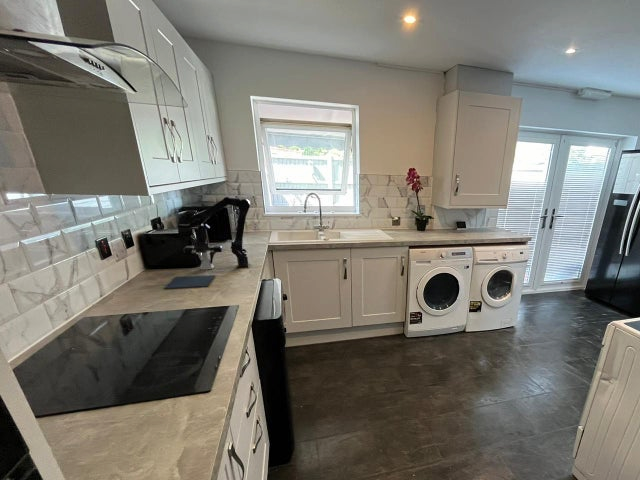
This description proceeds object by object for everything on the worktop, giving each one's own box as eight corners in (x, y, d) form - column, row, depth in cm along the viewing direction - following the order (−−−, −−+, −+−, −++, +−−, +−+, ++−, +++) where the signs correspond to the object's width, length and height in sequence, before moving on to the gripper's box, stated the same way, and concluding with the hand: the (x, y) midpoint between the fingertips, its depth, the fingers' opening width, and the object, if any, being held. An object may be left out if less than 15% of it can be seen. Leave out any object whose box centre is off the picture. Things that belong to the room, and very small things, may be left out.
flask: (200, 267, 188) (197, 250, 184) (214, 266, 191) (211, 249, 187) (199, 270, 182) (196, 253, 178) (214, 269, 185) (210, 252, 181)
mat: (176, 277, 168) (176, 276, 168) (215, 276, 173) (214, 275, 173) (164, 289, 152) (164, 288, 152) (207, 286, 158) (207, 285, 157)
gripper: (178, 239, 170) (183, 268, 175) (217, 239, 175) (222, 266, 181) (184, 236, 180) (189, 263, 185) (221, 235, 185) (225, 262, 191)
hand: (206, 263), depth 185 cm, fingers closed on flask, 5 cm apart
